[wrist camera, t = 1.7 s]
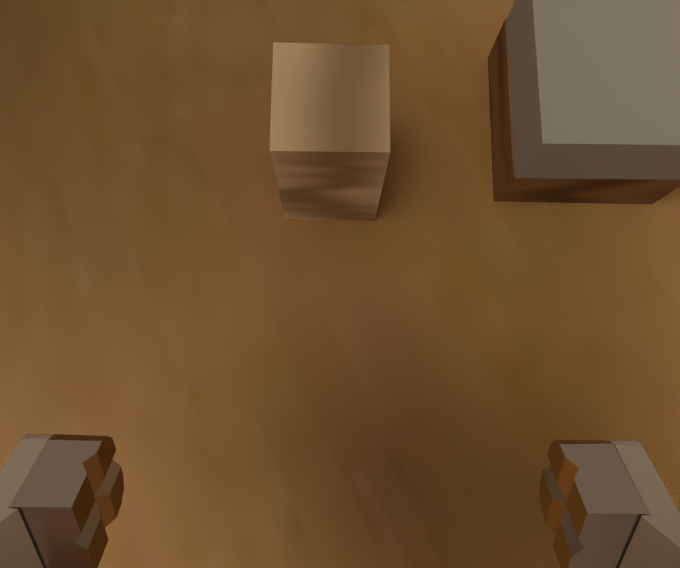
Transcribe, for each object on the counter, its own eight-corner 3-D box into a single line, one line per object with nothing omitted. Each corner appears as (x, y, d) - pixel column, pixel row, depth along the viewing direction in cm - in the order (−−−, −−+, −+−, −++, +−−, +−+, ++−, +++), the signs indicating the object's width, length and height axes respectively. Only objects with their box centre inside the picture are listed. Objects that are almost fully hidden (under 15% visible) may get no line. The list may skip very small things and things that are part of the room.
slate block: (515, 178, 30) (542, 143, 26) (506, 20, 32) (530, -34, 28) (692, 179, 30) (745, 145, 27) (672, 22, 32) (719, -31, 28)
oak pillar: (285, 219, 34) (269, 150, 25) (288, 136, 35) (273, 42, 26) (374, 220, 34) (390, 152, 25) (374, 137, 35) (389, 44, 26)
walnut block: (492, 202, 34) (513, 176, 30) (486, 61, 36) (505, 18, 32) (648, 205, 34) (689, 179, 30) (635, 64, 36) (671, 22, 32)
